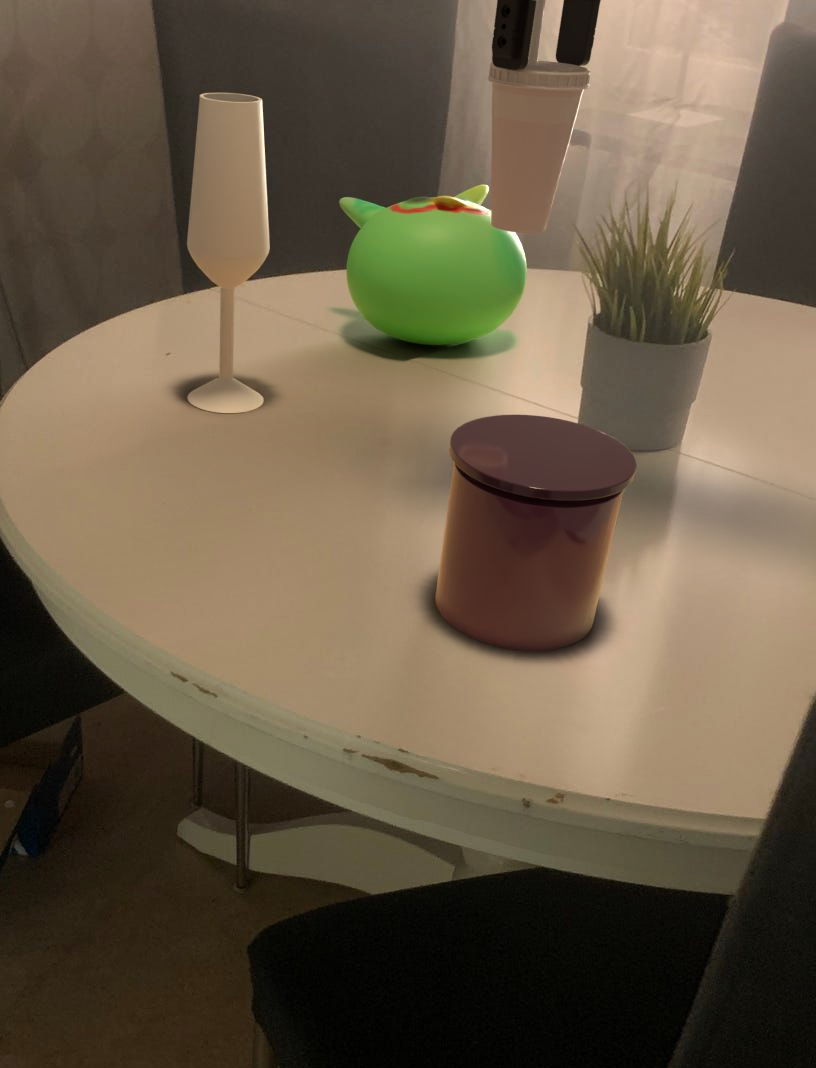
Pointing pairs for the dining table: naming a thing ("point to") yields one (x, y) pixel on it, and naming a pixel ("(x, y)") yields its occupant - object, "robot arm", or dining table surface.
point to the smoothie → (531, 135)
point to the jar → (529, 529)
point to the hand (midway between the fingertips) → (541, 65)
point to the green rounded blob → (433, 268)
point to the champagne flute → (228, 224)
